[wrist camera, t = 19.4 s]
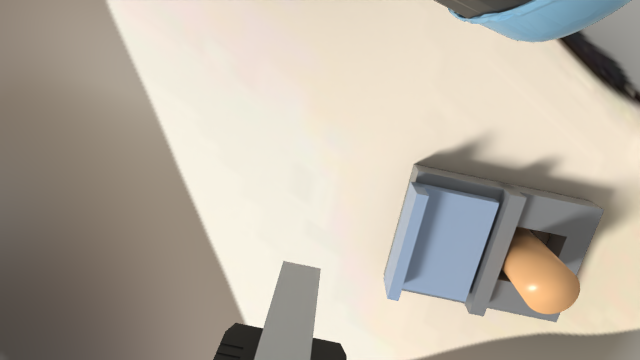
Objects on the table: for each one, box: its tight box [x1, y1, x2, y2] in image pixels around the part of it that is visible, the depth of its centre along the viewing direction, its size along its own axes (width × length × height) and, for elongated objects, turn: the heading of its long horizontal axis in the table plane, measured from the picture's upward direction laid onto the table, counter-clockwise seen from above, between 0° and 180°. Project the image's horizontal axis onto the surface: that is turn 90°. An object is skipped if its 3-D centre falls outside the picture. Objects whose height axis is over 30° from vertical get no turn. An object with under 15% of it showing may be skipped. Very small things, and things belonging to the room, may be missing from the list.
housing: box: [384, 164, 604, 322], centre depth 40 cm, size 12×17×4 cm
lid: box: [384, 181, 499, 302], centre depth 37 cm, size 10×8×4 cm
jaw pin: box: [502, 227, 580, 314], centre depth 38 cm, size 4×4×8 cm
